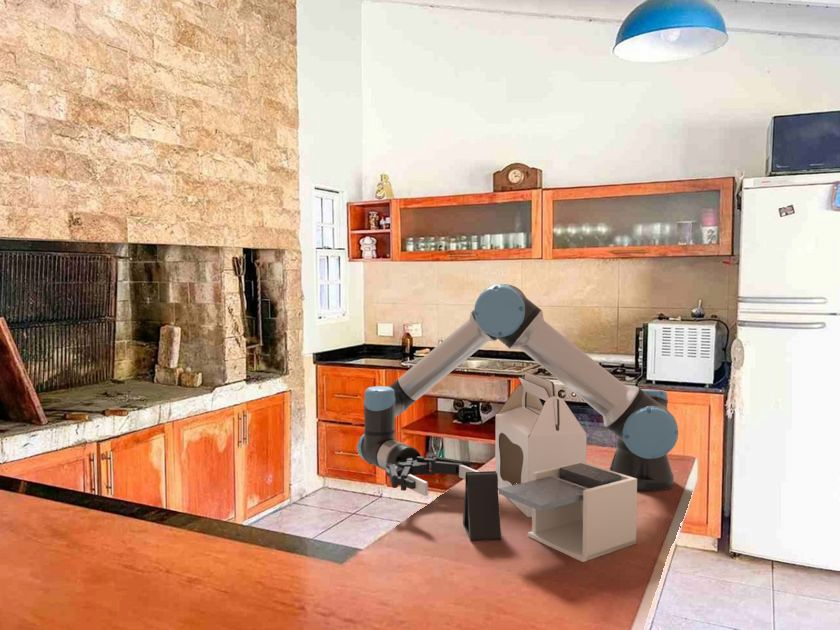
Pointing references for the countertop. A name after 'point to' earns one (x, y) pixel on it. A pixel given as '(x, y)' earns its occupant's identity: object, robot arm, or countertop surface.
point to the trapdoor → (559, 487)
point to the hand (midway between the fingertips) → (453, 483)
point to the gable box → (535, 434)
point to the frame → (589, 518)
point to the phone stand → (481, 506)
